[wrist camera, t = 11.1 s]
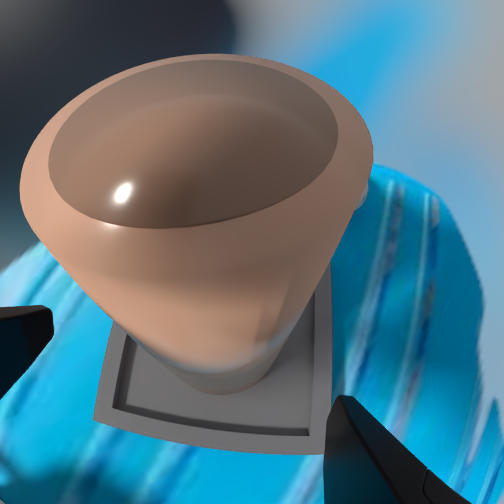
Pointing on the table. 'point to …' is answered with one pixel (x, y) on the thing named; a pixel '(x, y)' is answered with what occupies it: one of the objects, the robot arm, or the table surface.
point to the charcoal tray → (233, 405)
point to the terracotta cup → (200, 205)
